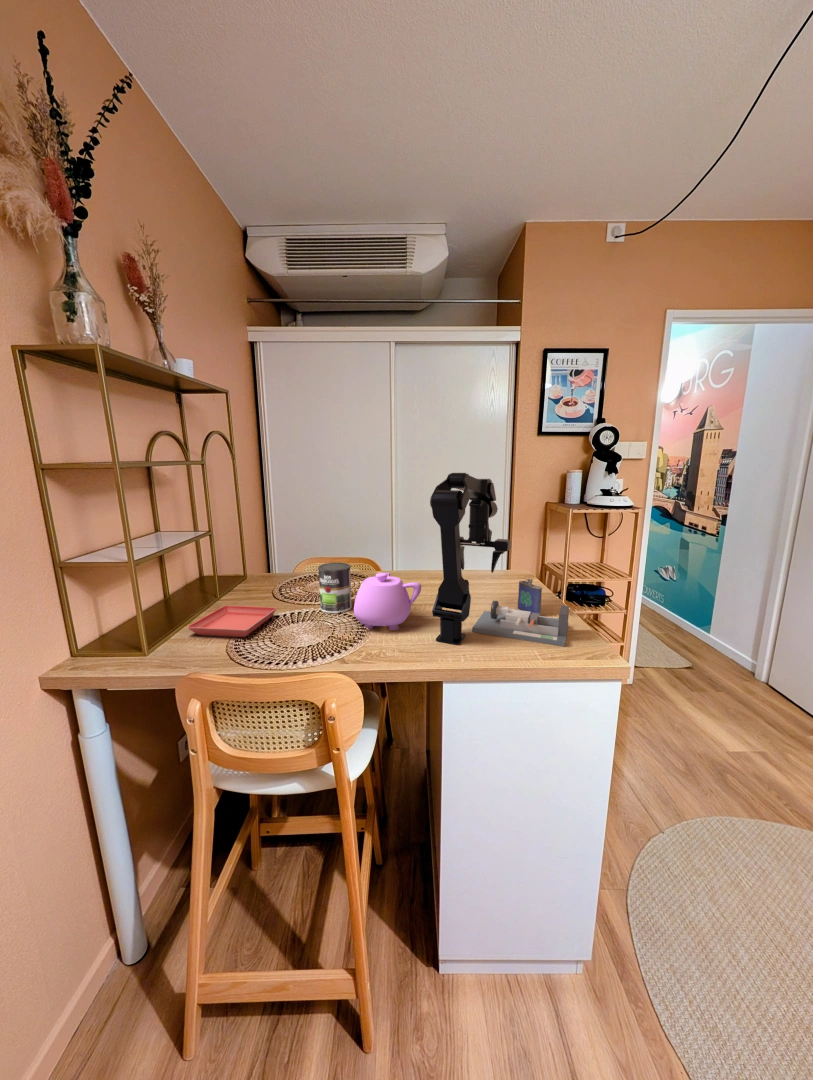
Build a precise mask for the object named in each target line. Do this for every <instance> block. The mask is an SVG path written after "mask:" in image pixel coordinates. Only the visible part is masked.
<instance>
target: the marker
mask: <svg viewBox="0 0 813 1080" xmlns="http://www.w3.org/2000/svg"><path fill="white" fill-rule="evenodd" d="M538 623H539V613H532V615H531V617H530V622H529V624H530V625H529V627H531V628H532V627H533V624H536V625H538Z"/></svg>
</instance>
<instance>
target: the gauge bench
mask: <svg viewBox="0 0 813 1080" xmlns="http://www.w3.org/2000/svg"><path fill="white" fill-rule="evenodd" d="M569 612H570V605H563V604H561V605H560V608H559V613H558V617H557V618H556V617H551V616H543V615H540V616H539V623H538V625H536V624H533V627H532V628H531V627H529V625H530V624H529V623H523V622H520V623H519V625H516V621H509V620H506V616H505V615H498V617H497V619H491V611H488V610H484V611H483V612H482V614H481V615H480V616H479V617H478V618H477V621H476V622H475V623H474V624H473V626H472V628H471V632H472V633H478V634H484V635H485V634H486V635H491V636H496V637H503V638H510V639H516V640H522V641H528V642H532V643H533V642H534V643H539V644H546V645H552V646H553V645H554V646H558V647H566V644H567V643H566V642H567V636H568V631H569V629H568V628H569V614H570V613H569Z"/></svg>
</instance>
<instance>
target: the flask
mask: <svg viewBox="0 0 813 1080" xmlns="http://www.w3.org/2000/svg"><path fill="white" fill-rule="evenodd" d="M533 582H534V579H532V578H526V579H525V580H519V581H518V597H517V598H518V599H517V610H521V611H529V612H531V615H532V613H539V616H542V594H543V593H542V592H543V586H542V587H541V586H539V585H535V584H533Z"/></svg>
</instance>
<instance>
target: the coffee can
mask: <svg viewBox="0 0 813 1080" xmlns="http://www.w3.org/2000/svg"><path fill="white" fill-rule="evenodd" d="M351 567H352V566H351V565H350V564H349V563H346V562H327V563H323V564H320V565H318V567H317V570H318V584H319V585H318V588H319V601H320V604H319V605H320V607H319V610H320V612H322V613H326V614H340V612H341V613H345V612H348V611H350V610H351V609H352V584H351V583H352V582H351V581H352V579H351Z"/></svg>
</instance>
